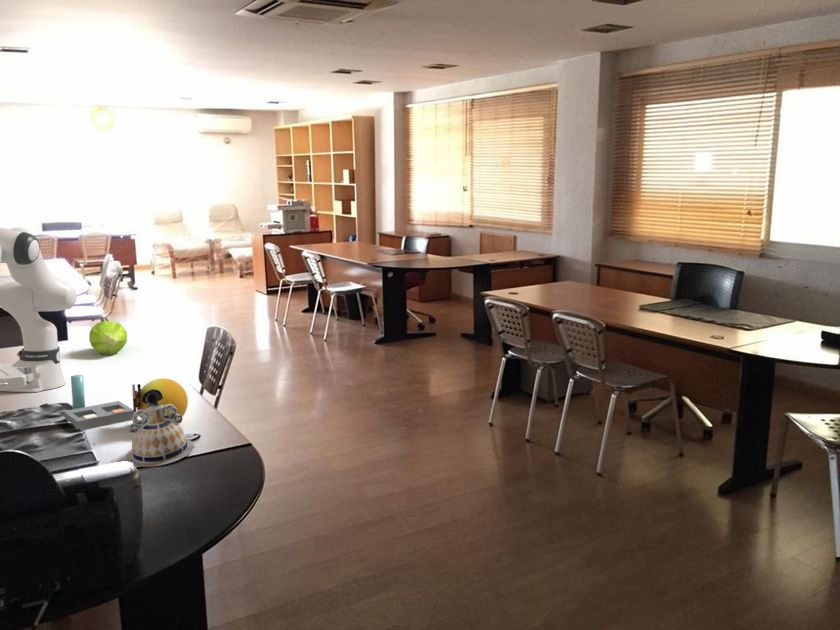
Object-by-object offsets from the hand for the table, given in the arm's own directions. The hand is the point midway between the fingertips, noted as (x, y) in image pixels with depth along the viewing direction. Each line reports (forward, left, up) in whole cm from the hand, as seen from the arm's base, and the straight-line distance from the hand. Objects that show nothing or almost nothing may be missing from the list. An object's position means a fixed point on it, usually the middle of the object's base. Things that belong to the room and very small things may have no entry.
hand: (34, 372), depth 211 cm
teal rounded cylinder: (+10, +7, -15) cm, 20 cm away
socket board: (+19, -2, -15) cm, 24 cm away
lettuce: (-6, +92, -16) cm, 93 cm away
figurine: (+45, -33, -16) cm, 57 cm away
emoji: (+40, -9, -16) cm, 43 cm away
